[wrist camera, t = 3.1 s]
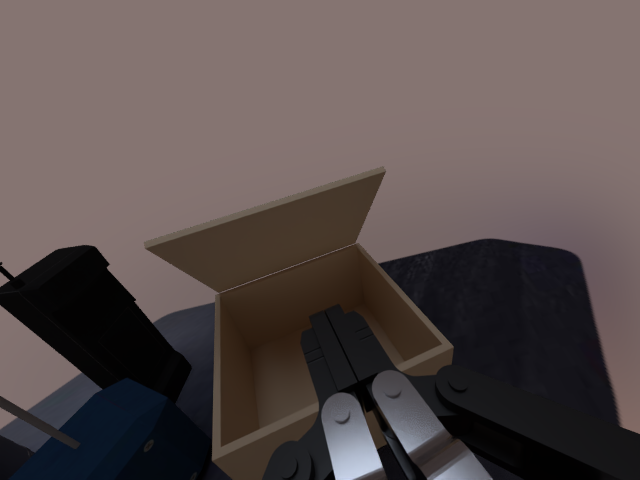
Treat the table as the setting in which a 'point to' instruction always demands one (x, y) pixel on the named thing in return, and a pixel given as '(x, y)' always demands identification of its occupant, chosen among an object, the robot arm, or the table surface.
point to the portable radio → (93, 321)
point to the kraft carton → (301, 352)
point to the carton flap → (272, 233)
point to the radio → (117, 439)
